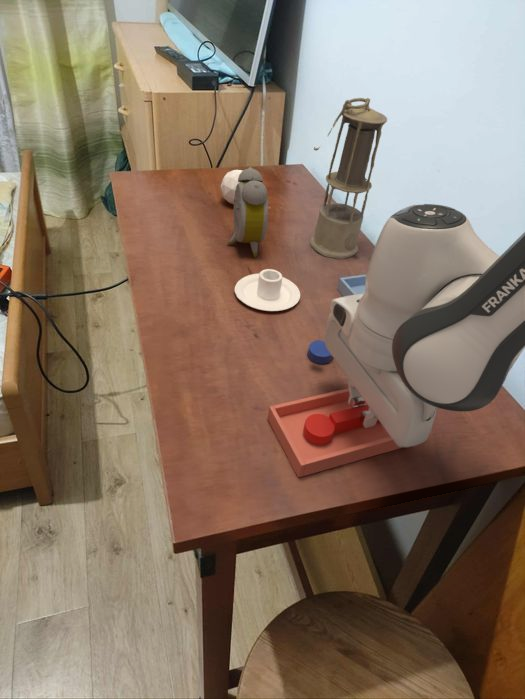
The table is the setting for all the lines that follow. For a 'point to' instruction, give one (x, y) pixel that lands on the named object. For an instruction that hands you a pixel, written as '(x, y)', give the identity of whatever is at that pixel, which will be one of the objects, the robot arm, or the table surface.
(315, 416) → the red spoon
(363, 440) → the red tray
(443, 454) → the table surface
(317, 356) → the blue spoon
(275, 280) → the candle holder
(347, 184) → the lamp
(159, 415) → the table surface
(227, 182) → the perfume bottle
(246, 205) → the alarm clock
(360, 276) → the blue tray
